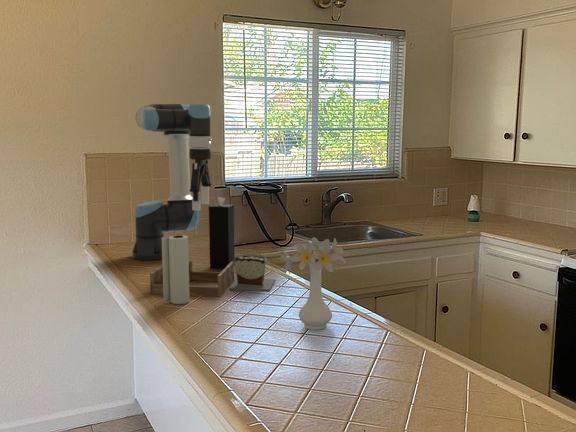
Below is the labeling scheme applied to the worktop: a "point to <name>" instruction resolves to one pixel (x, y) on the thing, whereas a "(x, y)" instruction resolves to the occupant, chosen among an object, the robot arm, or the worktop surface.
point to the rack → (222, 277)
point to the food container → (250, 269)
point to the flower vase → (315, 279)
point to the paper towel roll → (175, 269)
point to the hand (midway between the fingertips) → (201, 207)
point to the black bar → (221, 234)
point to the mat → (266, 286)
